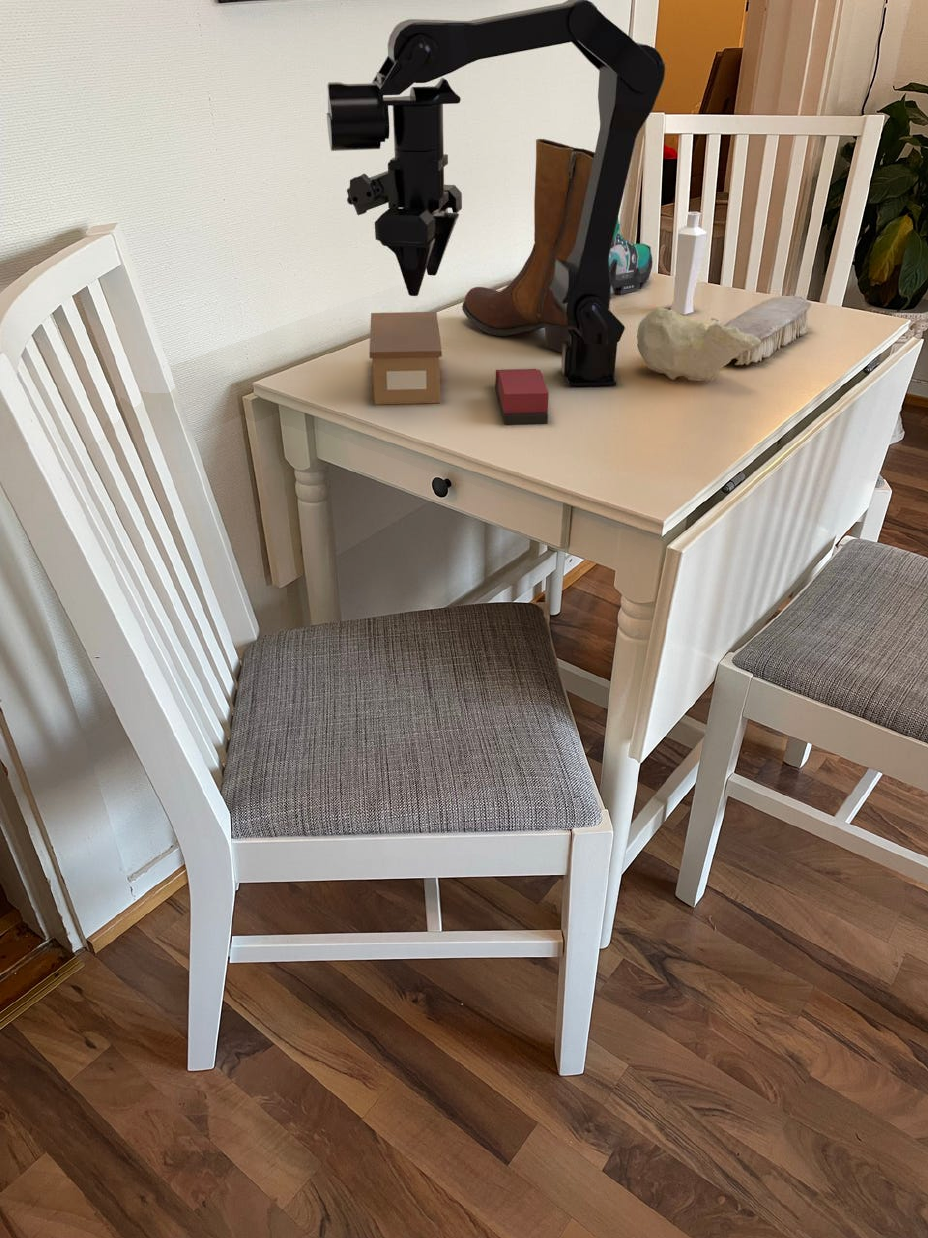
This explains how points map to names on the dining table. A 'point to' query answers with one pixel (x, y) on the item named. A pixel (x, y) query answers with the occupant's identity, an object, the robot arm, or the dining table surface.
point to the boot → (540, 250)
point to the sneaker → (628, 264)
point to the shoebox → (405, 357)
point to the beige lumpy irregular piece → (689, 345)
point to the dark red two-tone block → (522, 396)
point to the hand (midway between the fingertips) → (423, 284)
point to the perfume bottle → (688, 263)
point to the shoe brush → (772, 325)
